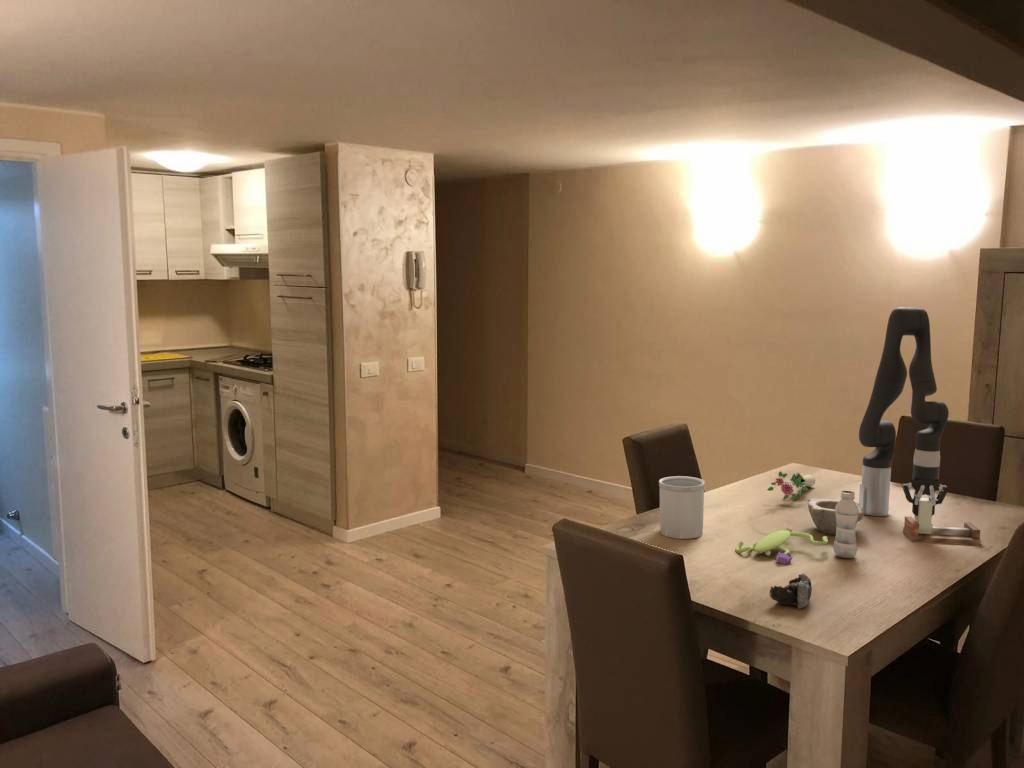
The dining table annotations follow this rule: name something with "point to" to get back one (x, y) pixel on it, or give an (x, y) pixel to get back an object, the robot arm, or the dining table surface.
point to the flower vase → (796, 480)
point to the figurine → (778, 544)
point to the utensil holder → (681, 507)
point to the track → (949, 537)
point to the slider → (924, 516)
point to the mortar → (827, 514)
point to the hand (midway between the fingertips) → (923, 515)
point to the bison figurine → (793, 592)
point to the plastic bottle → (846, 526)
